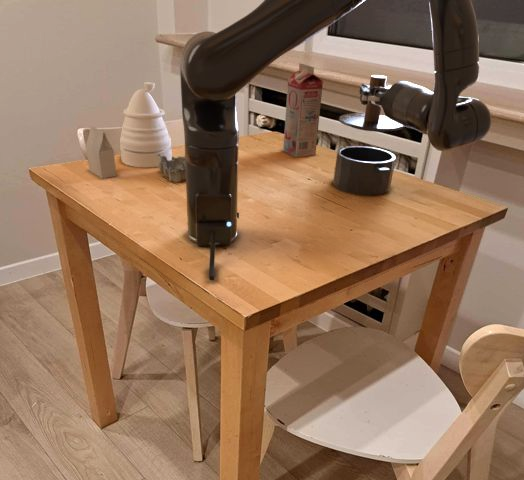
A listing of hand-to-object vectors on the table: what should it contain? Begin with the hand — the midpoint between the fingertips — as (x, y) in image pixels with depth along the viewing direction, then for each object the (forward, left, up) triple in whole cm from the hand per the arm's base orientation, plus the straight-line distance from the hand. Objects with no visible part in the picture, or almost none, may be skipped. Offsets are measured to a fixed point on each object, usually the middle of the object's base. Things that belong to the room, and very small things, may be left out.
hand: (370, 89), depth 118 cm
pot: (-3, 0, -21) cm, 21 cm away
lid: (-3, 0, -6) cm, 7 cm away
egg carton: (+5, +44, -21) cm, 49 cm away
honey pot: (+17, +52, -21) cm, 58 cm away
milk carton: (+25, +10, -21) cm, 34 cm away
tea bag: (+6, +62, -21) cm, 65 cm away
